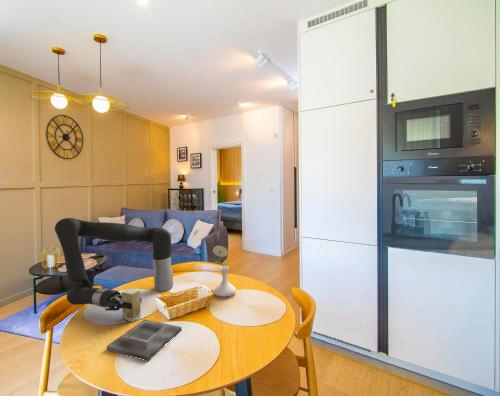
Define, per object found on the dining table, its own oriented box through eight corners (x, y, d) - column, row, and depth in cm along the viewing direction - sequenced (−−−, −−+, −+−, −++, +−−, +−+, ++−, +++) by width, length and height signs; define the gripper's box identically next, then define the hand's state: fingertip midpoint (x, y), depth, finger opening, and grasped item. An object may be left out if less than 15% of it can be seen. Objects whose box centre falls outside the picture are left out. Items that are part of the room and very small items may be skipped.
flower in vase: (240, 292, 132) (239, 244, 131) (227, 300, 123) (225, 250, 121) (221, 287, 139) (219, 242, 138) (207, 295, 130) (205, 247, 128)
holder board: (145, 322, 105) (144, 314, 105) (181, 330, 99) (181, 321, 99) (106, 350, 88) (106, 340, 88) (148, 361, 82) (147, 351, 82)
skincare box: (122, 319, 108) (120, 291, 107) (130, 314, 112) (128, 287, 111) (133, 322, 106) (131, 293, 105) (141, 317, 110) (140, 289, 109)
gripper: (90, 296, 106) (121, 302, 101) (119, 283, 120) (148, 288, 114) (92, 314, 107) (122, 320, 101) (120, 299, 120) (148, 304, 114)
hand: (136, 303), depth 107 cm, fingers closed on skincare box, 4 cm apart
